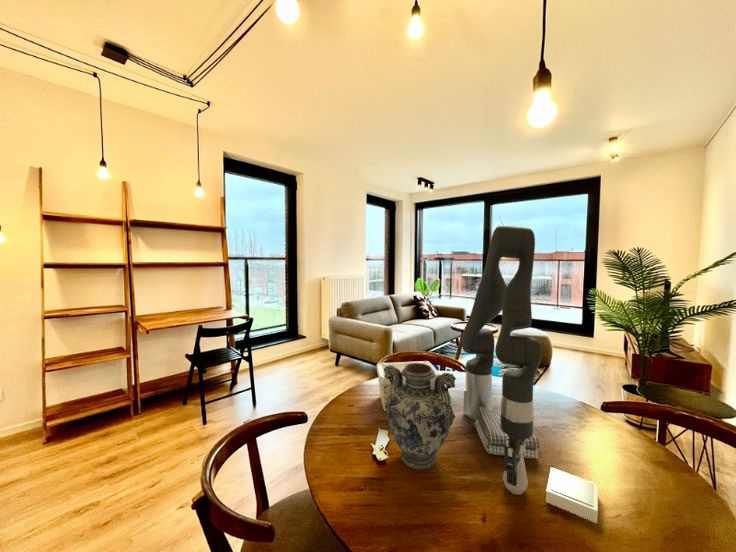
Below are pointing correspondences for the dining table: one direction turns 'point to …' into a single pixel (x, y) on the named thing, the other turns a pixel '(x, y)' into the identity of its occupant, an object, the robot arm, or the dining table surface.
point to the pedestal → (573, 494)
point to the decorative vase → (419, 412)
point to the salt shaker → (518, 478)
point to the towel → (499, 434)
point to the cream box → (385, 383)
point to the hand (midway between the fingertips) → (515, 473)
